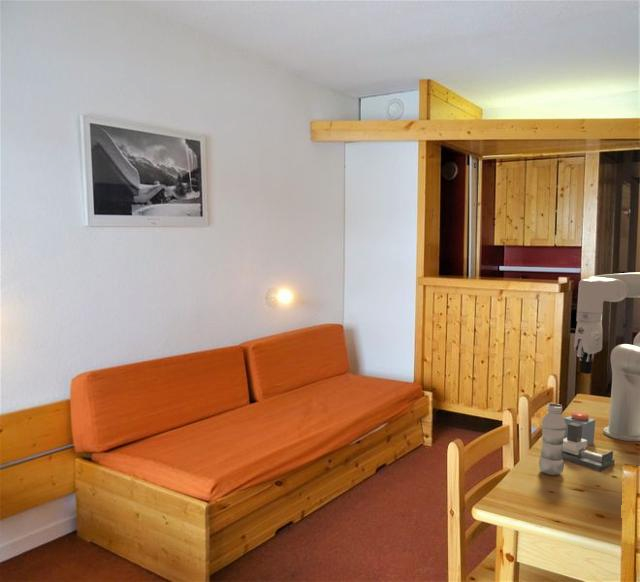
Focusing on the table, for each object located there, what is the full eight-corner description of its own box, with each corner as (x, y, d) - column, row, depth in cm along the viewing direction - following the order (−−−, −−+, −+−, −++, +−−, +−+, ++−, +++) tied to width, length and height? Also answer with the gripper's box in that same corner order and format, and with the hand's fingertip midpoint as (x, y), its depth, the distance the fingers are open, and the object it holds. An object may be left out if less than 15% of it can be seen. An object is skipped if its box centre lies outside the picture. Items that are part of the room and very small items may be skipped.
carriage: (571, 446, 189) (573, 420, 188) (586, 451, 185) (588, 424, 184) (559, 451, 184) (561, 424, 184) (575, 456, 181) (577, 428, 180)
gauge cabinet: (573, 437, 203) (574, 414, 202) (593, 443, 198) (595, 419, 197) (561, 441, 198) (563, 418, 197) (582, 448, 193) (584, 423, 192)
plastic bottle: (565, 479, 168) (570, 409, 166) (539, 476, 169) (544, 407, 167) (560, 470, 174) (565, 403, 172) (536, 467, 175) (540, 401, 173)
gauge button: (575, 425, 201) (576, 411, 201) (590, 429, 197) (591, 415, 197) (567, 428, 198) (568, 413, 197) (582, 432, 194) (584, 417, 193)
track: (569, 450, 190) (570, 436, 190) (614, 464, 180) (615, 449, 179) (555, 456, 185) (556, 442, 184) (600, 471, 174) (601, 456, 174)
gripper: (589, 320, 186) (585, 378, 188) (611, 316, 195) (607, 372, 197) (566, 317, 192) (562, 373, 194) (589, 314, 201) (585, 367, 203)
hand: (585, 372), depth 195 cm, fingers closed
